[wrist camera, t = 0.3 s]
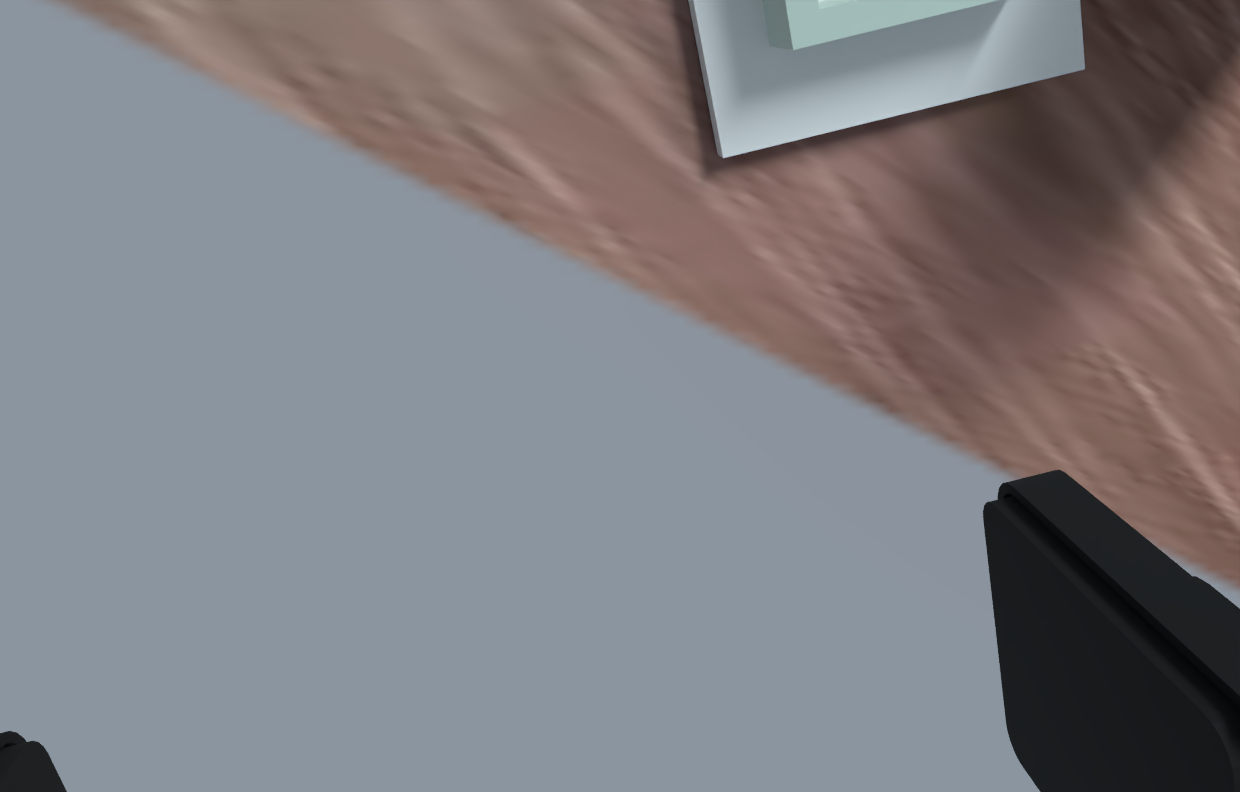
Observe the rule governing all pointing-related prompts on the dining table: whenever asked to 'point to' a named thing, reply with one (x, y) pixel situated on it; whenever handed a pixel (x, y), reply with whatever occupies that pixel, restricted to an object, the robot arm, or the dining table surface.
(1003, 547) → the robot arm
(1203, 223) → the dining table surface
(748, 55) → the cup holder
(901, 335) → the dining table surface
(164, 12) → the dining table surface
